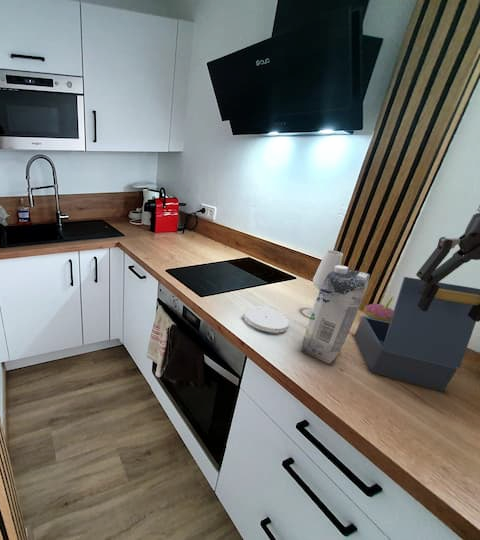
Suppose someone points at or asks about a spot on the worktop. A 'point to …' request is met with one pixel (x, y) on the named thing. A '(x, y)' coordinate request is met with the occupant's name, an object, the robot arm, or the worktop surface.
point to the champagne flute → (324, 272)
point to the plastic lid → (266, 319)
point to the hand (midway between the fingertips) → (446, 313)
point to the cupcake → (379, 311)
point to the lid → (432, 323)
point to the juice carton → (334, 312)
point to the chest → (398, 358)
